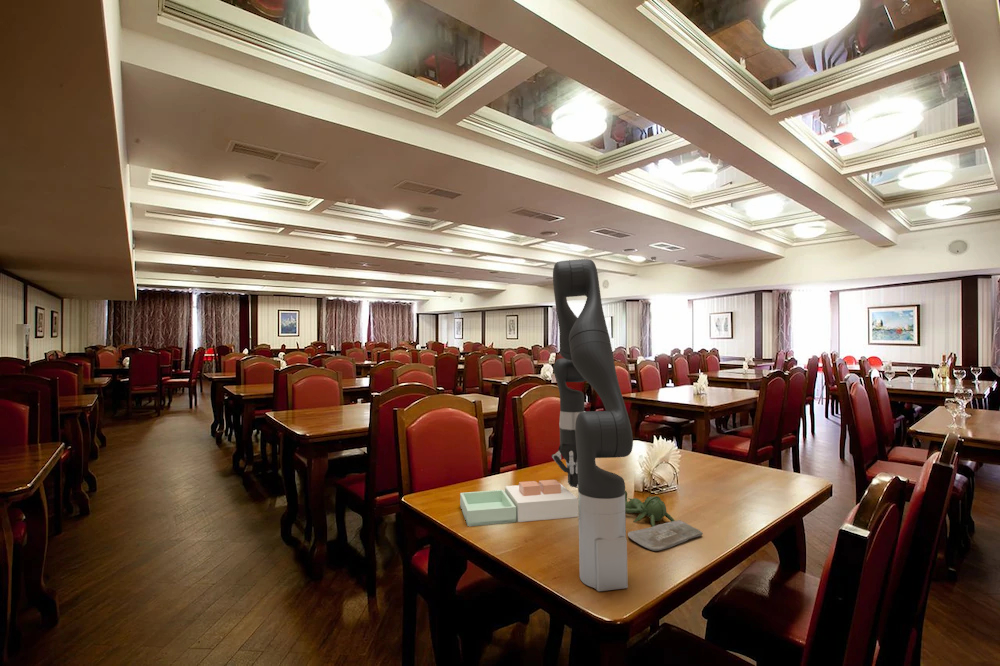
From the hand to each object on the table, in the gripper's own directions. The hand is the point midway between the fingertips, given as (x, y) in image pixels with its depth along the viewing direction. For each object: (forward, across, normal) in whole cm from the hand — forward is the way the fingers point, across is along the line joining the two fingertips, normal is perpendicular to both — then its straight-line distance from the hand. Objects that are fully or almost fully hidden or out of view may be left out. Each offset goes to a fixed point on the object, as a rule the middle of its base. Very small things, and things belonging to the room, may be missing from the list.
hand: (573, 486), depth 137 cm
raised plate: (+6, -10, 0) cm, 12 cm away
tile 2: (+1, -7, 0) cm, 7 cm away
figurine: (+6, +15, -11) cm, 20 cm away
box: (+6, -26, 0) cm, 26 cm away
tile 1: (+1, -13, 0) cm, 13 cm away
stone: (+7, +14, -26) cm, 30 cm away
